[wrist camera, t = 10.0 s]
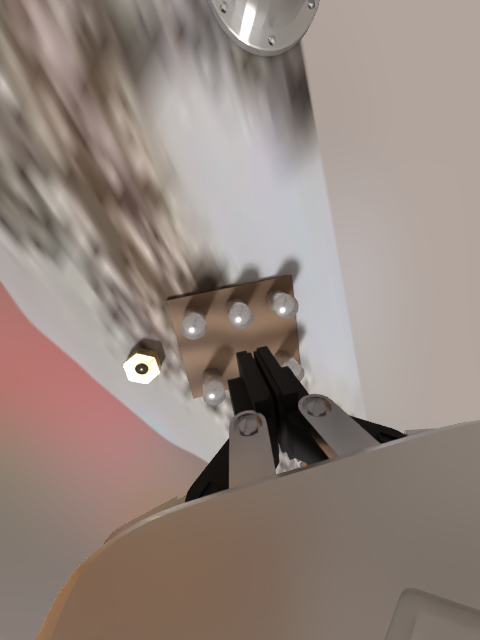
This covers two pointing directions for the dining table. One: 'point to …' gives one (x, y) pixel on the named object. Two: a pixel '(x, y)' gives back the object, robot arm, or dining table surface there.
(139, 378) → the nut
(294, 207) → the dining table surface
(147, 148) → the dining table surface
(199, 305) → the board
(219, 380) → the spacers
